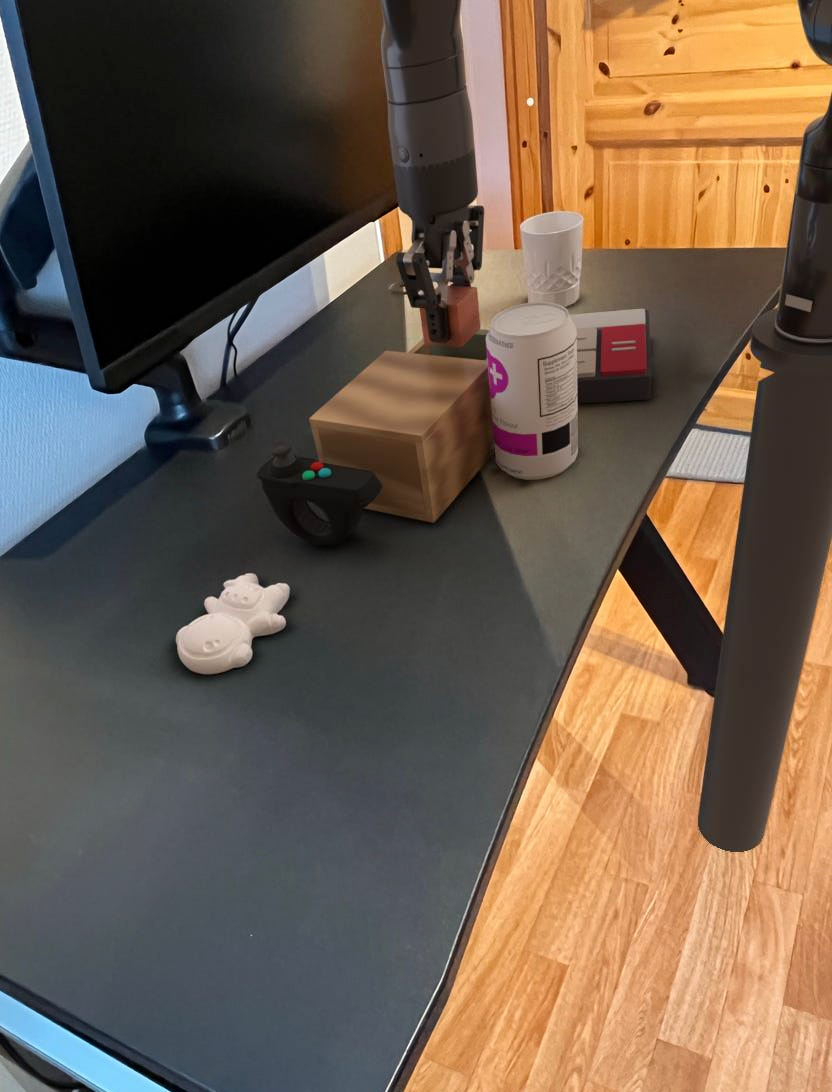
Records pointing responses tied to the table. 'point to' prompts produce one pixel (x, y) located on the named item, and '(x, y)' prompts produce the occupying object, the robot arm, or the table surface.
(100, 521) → the table surface
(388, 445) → the cabinet
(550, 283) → the white cup
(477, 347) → the drawer
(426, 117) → the robot arm
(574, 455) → the supplement can
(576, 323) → the calculator
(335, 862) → the table surface
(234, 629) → the white animal figurine
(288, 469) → the controller
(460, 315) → the block
